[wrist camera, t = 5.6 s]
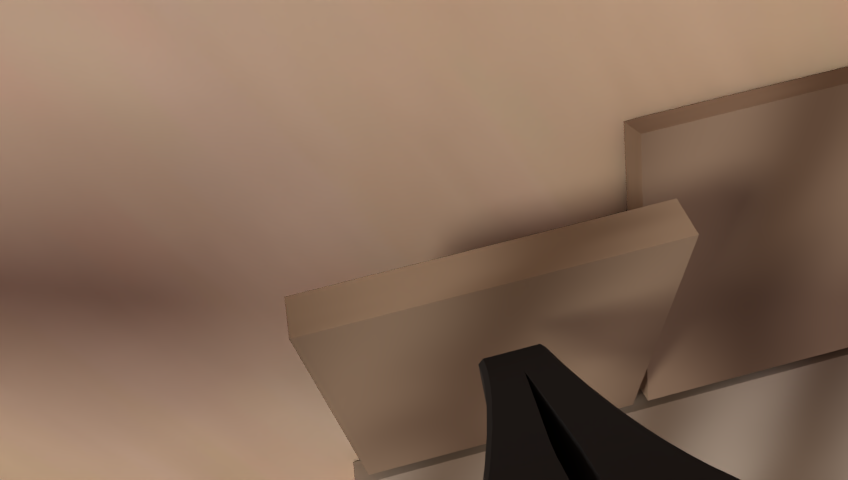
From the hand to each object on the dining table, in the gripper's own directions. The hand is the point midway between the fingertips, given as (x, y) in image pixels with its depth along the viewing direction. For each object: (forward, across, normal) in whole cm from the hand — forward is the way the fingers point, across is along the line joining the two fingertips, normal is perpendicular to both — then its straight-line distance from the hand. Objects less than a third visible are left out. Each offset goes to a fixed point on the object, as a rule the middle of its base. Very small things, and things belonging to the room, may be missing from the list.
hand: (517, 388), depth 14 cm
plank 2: (+5, -9, +1) cm, 11 cm away
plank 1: (+4, 0, +2) cm, 4 cm away
